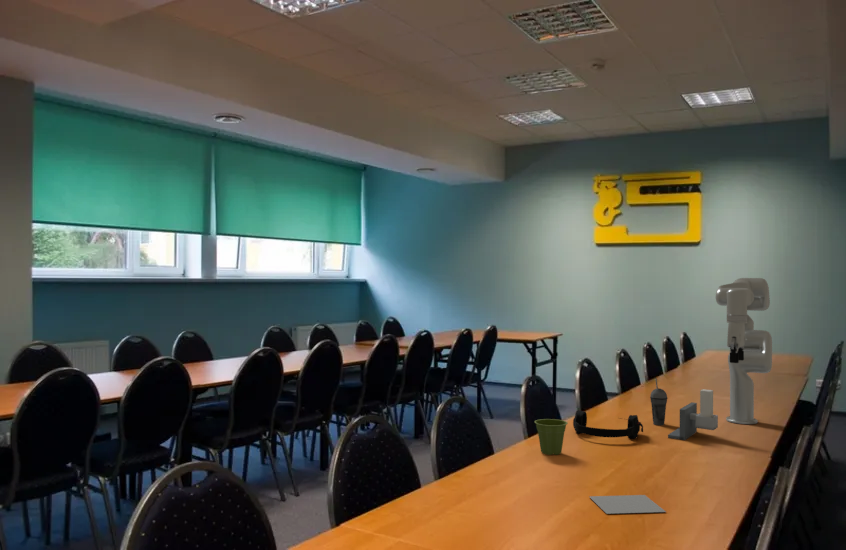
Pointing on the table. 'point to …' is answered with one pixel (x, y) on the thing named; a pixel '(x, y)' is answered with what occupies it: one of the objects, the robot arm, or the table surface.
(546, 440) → the plant pot
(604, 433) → the headset
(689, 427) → the bracket
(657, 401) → the beverage cup
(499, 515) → the table surface
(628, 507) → the grey flat square slab
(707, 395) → the rail
